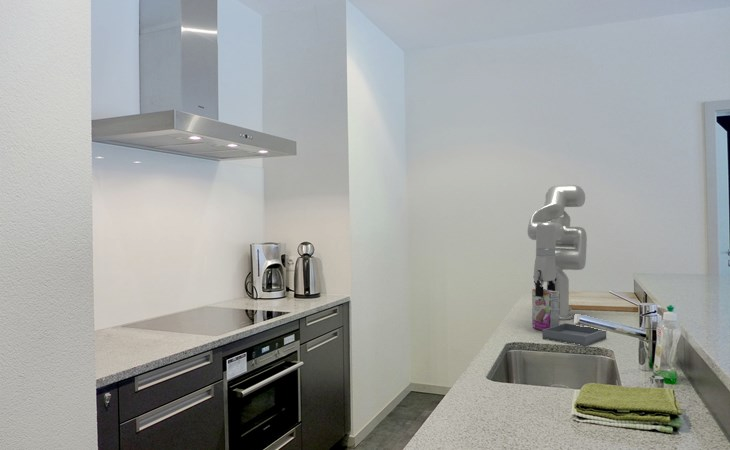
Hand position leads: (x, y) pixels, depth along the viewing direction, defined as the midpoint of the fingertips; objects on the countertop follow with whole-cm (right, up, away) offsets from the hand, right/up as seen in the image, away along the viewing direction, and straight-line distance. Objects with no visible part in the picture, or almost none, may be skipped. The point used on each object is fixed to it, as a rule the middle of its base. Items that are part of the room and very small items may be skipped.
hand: (545, 295), depth 222 cm
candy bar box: (0, -15, +1) cm, 15 cm away
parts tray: (+6, -15, -14) cm, 21 cm away
